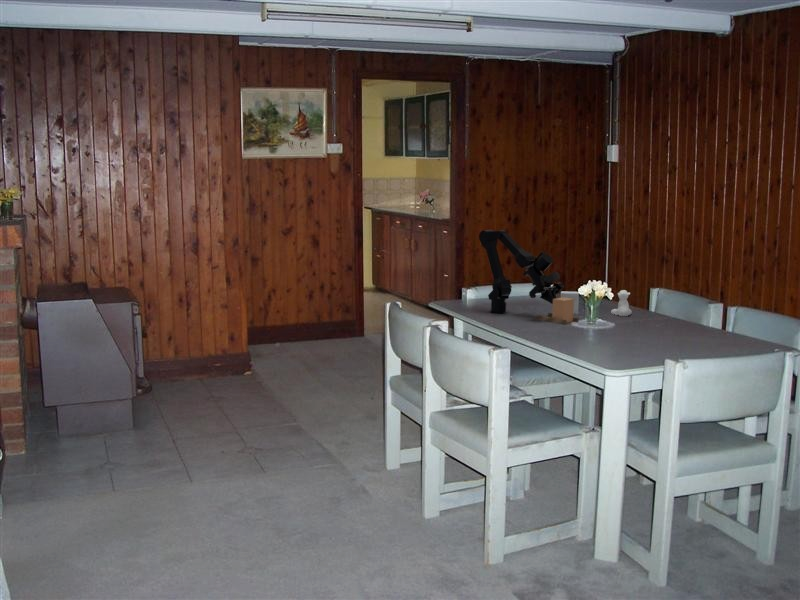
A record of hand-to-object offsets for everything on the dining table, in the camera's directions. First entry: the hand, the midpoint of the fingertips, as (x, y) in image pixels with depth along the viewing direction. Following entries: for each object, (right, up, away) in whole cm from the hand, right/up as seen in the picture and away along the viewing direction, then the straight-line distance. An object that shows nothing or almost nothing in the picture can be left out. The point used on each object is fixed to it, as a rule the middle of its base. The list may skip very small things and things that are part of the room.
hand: (557, 305), depth 383 cm
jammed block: (+2, -7, -1) cm, 8 cm away
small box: (+9, -5, +22) cm, 24 cm away
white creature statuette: (+34, -5, +22) cm, 41 cm away
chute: (+1, -8, 0) cm, 8 cm away
